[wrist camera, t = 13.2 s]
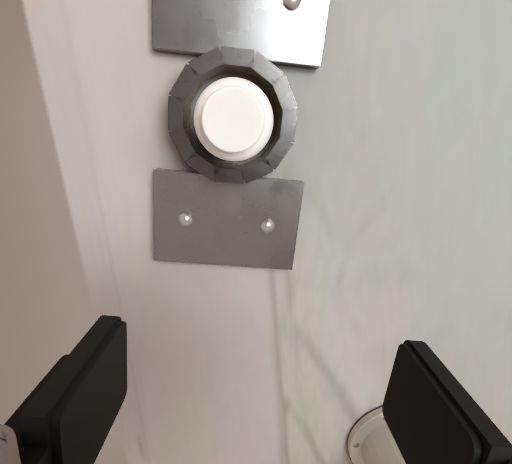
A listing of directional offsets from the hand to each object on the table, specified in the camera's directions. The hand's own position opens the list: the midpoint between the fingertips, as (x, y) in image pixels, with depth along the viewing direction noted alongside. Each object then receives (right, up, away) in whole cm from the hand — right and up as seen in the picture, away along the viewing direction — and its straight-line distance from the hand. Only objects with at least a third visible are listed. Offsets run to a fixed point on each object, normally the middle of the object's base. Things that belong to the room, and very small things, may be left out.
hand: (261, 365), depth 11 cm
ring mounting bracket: (-2, +15, +19) cm, 24 cm away
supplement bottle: (-2, +15, +19) cm, 24 cm away
